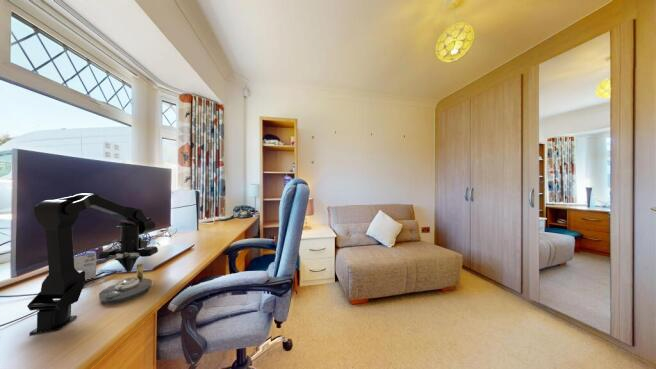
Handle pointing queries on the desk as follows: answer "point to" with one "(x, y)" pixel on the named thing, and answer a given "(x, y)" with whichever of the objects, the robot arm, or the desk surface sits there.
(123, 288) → the cover
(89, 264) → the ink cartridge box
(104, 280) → the desk surface
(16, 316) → the desk surface
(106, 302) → the turntable base
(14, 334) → the desk surface
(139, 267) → the turntable
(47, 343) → the desk surface
